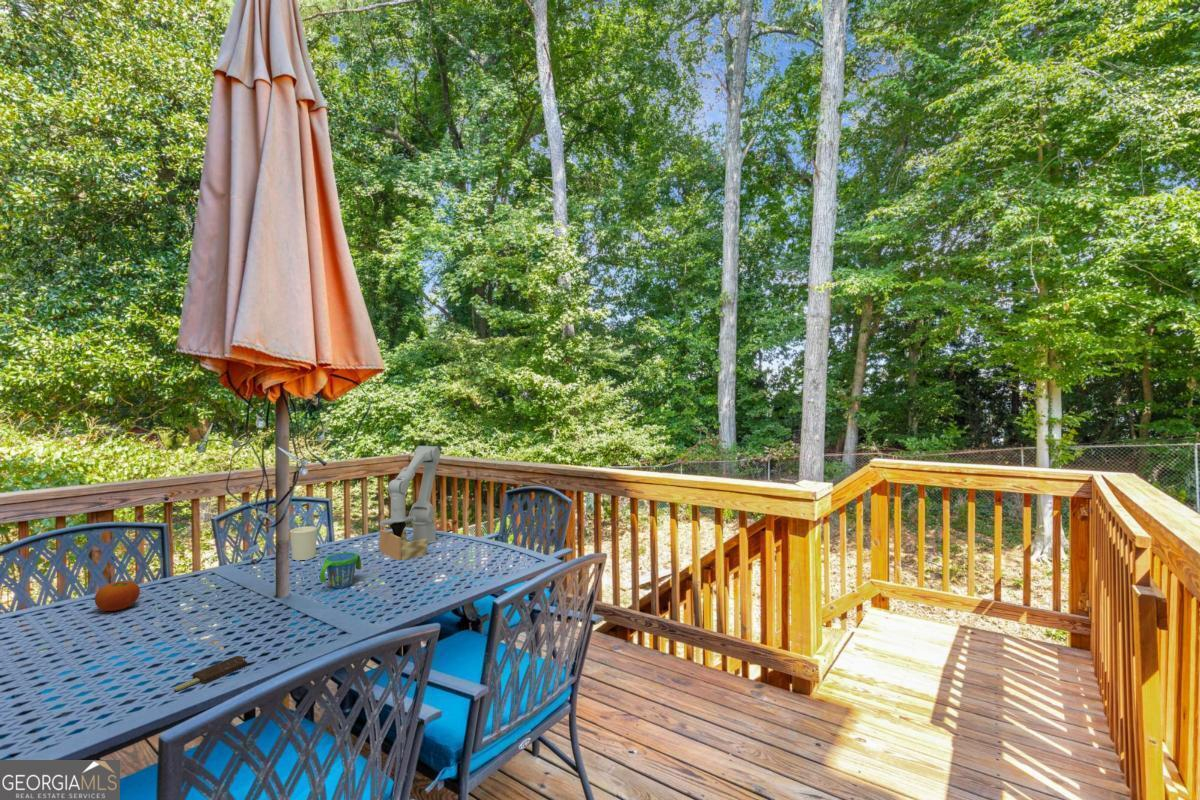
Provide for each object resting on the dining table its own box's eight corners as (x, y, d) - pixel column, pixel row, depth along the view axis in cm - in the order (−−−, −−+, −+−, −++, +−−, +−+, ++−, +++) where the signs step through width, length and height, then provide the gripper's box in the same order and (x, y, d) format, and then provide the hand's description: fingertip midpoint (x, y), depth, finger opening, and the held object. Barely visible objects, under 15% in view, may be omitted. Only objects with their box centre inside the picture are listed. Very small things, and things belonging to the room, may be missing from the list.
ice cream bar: (180, 696, 118) (250, 666, 131) (180, 689, 118) (250, 659, 131) (168, 690, 120) (238, 661, 134) (168, 682, 120) (238, 654, 134)
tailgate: (382, 550, 226) (382, 529, 226) (400, 559, 214) (401, 537, 214) (379, 550, 225) (379, 530, 225) (398, 560, 213) (398, 538, 213)
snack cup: (329, 595, 177) (329, 565, 176) (311, 589, 182) (311, 560, 182) (370, 581, 190) (370, 553, 190) (351, 576, 195) (352, 548, 195)
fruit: (94, 608, 164) (94, 582, 164) (138, 599, 172) (138, 575, 172) (95, 618, 157) (95, 592, 157) (141, 609, 164) (141, 583, 164)
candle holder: (314, 553, 222) (314, 525, 222) (319, 559, 215) (319, 529, 215) (287, 557, 216) (288, 528, 216) (292, 563, 208) (292, 533, 208)
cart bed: (404, 545, 235) (405, 529, 235) (427, 555, 220) (427, 539, 220) (381, 550, 228) (381, 534, 228) (403, 561, 213) (403, 543, 213)
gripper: (385, 512, 214) (384, 545, 214) (418, 507, 224) (418, 538, 224) (377, 509, 219) (377, 542, 219) (411, 504, 229) (411, 535, 229)
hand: (397, 540), depth 222 cm, fingers closed
